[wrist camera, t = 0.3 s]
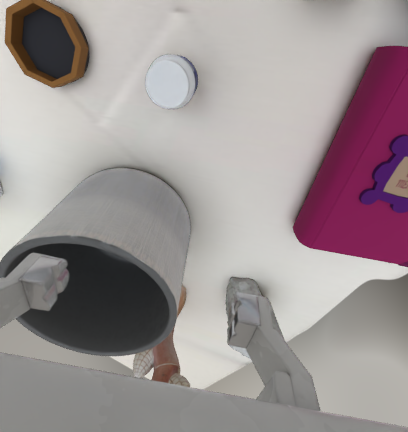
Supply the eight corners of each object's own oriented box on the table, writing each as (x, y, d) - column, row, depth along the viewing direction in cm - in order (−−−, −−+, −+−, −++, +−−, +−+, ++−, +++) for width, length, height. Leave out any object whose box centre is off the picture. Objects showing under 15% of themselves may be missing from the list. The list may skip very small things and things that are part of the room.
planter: (71, 246, 52) (1, 337, 35) (78, 146, 41) (-20, 208, 24) (174, 274, 55) (156, 370, 38) (207, 187, 44) (202, 269, 27)
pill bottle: (184, 109, 37) (175, 124, 29) (150, 85, 36) (130, 93, 27) (206, 73, 35) (203, 77, 26) (170, 44, 33) (155, 39, 25)
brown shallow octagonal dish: (6, 20, 32) (-11, 17, 30) (63, -10, 31) (49, -16, 28) (49, 92, 37) (37, 95, 34) (101, 69, 35) (92, 70, 32)
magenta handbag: (289, 223, 47) (301, 249, 41) (370, 46, 32) (408, 42, 26) (393, 243, 48) (421, 271, 42) (516, 82, 34) (587, 87, 27)
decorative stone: (215, 297, 58) (215, 361, 46) (234, 272, 54) (240, 335, 42) (253, 311, 60) (264, 376, 48) (275, 287, 56) (292, 352, 44)
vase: (151, 299, 60) (104, 478, 34) (153, 277, 56) (101, 460, 30) (195, 305, 60) (181, 485, 35) (200, 284, 56) (188, 469, 31)
